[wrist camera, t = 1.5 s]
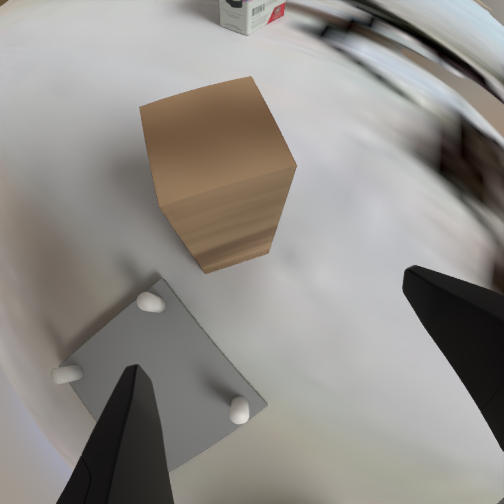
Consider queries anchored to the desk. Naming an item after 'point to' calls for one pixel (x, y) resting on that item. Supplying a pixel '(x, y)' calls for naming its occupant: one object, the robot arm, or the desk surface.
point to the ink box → (249, 14)
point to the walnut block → (219, 170)
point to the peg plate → (165, 373)
